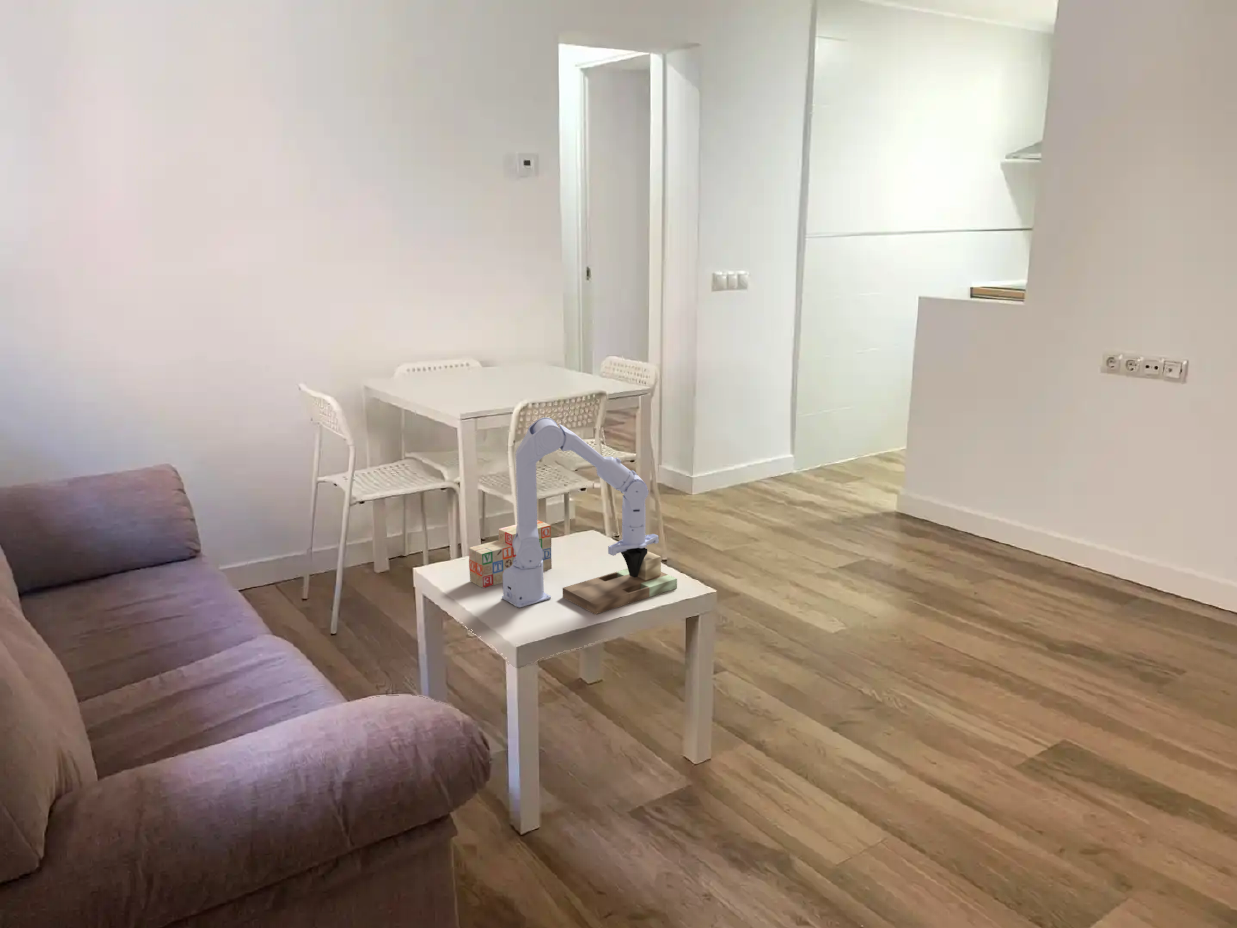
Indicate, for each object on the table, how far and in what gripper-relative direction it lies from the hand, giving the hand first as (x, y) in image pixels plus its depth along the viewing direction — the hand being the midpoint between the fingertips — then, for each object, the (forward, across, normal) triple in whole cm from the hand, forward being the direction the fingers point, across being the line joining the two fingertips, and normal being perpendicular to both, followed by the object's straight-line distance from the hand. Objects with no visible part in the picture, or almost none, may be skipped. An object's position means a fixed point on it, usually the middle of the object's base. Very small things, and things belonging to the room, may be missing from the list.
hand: (633, 575), depth 238 cm
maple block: (+1, +4, 0) cm, 4 cm away
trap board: (+3, -4, 0) cm, 5 cm away
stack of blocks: (+4, -18, +27) cm, 33 cm away
